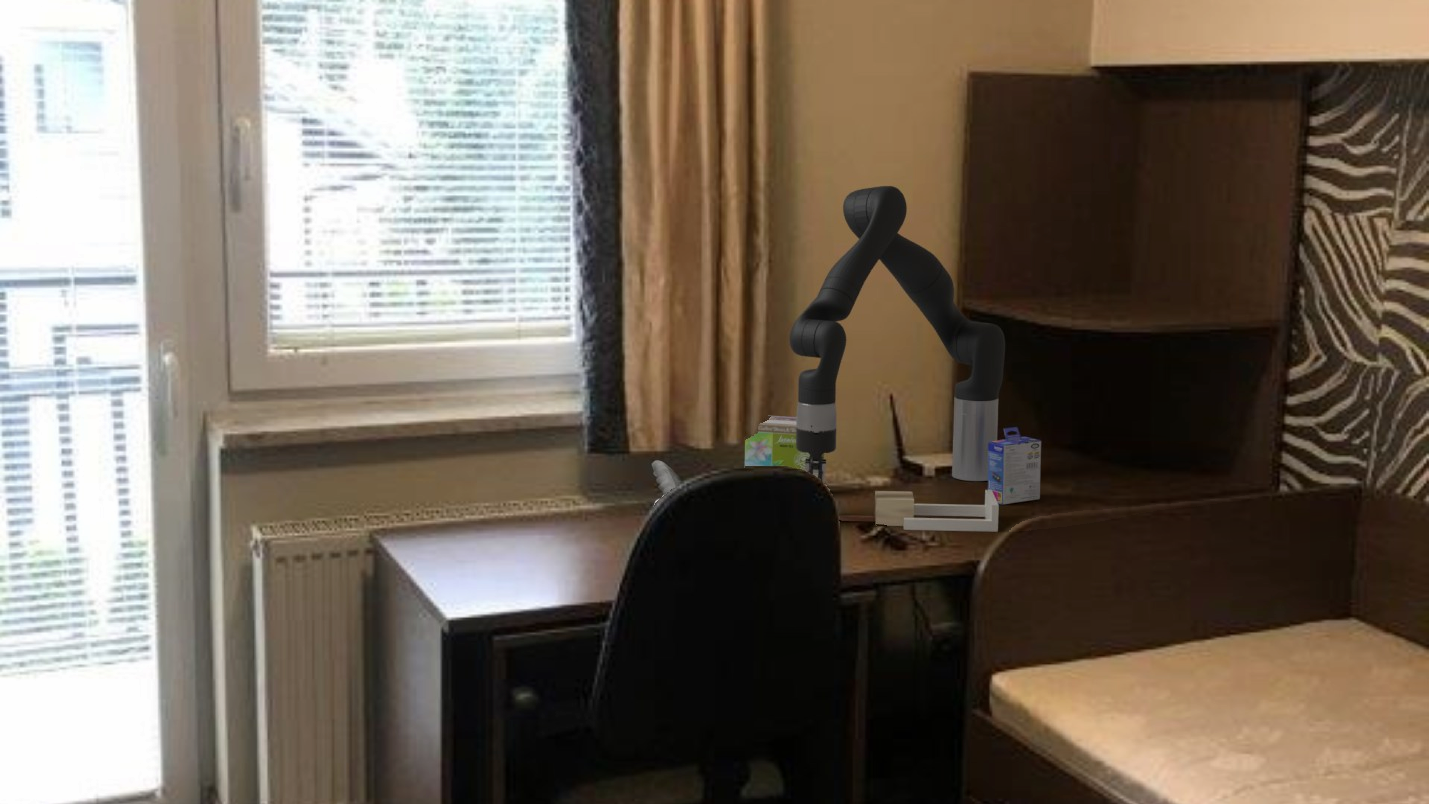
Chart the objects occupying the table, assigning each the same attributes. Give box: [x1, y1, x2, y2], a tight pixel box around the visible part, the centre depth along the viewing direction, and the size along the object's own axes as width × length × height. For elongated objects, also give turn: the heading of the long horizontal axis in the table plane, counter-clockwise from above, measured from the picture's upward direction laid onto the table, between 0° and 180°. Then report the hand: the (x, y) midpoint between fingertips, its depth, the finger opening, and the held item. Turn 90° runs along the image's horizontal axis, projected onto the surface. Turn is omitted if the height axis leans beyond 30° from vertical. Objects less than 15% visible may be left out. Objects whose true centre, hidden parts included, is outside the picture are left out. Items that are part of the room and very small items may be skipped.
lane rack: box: [903, 489, 1000, 533], centre depth 291 cm, size 12×17×5 cm
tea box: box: [744, 415, 825, 471], centre depth 316 cm, size 15×10×15 cm, turn 76°
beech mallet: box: [839, 490, 915, 527], centre depth 292 cm, size 7×20×6 cm, turn 86°
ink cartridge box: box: [987, 426, 1042, 505], centre depth 308 cm, size 10×6×14 cm, turn 120°
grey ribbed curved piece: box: [651, 460, 683, 506], centre depth 294 cm, size 9×18×10 cm, turn 23°
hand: (814, 514), depth 293 cm, fingers closed on beech mallet, 4 cm apart
